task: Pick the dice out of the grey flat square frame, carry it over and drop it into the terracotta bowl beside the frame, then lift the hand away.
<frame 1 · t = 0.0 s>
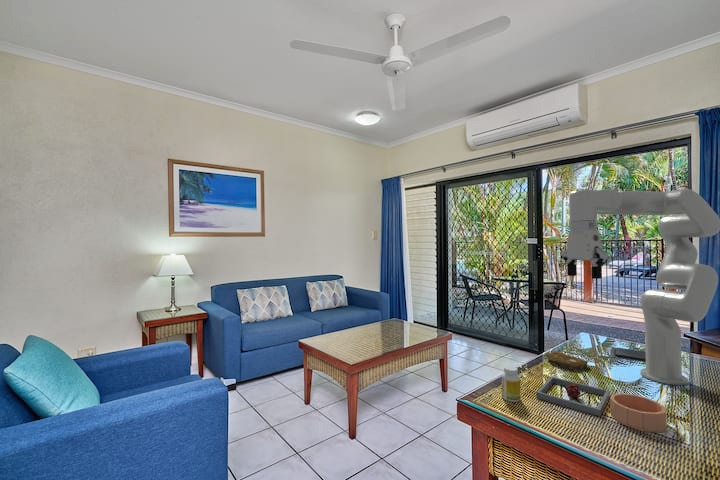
hand: (583, 277, 112), 37 cm above the table, tool pointing down, fingers open, 9 cm apart
dice: (573, 397, 105), resting in grey flat square frame
decorative rock: (564, 365, 132), on the table
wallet: (640, 358, 140), on the table
grey flat square frame: (573, 397, 105), on the table
supplement bottle: (511, 399, 104), on the table
bowl: (637, 420, 91), on the table
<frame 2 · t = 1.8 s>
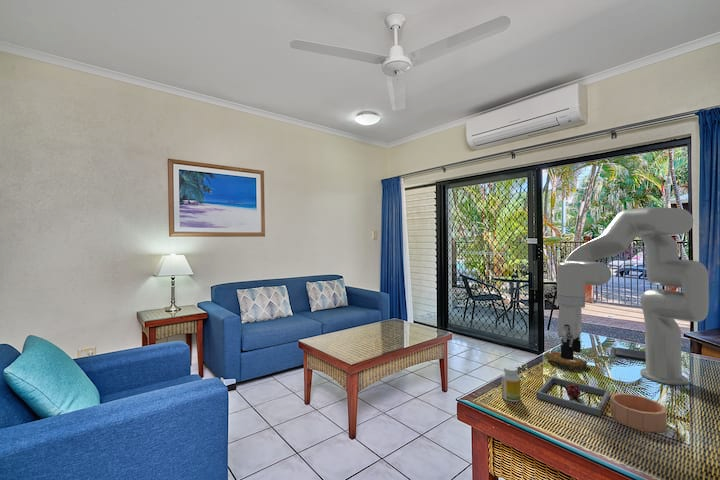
hand: (571, 355, 105), 13 cm above the table, tool pointing down, fingers open, 9 cm apart
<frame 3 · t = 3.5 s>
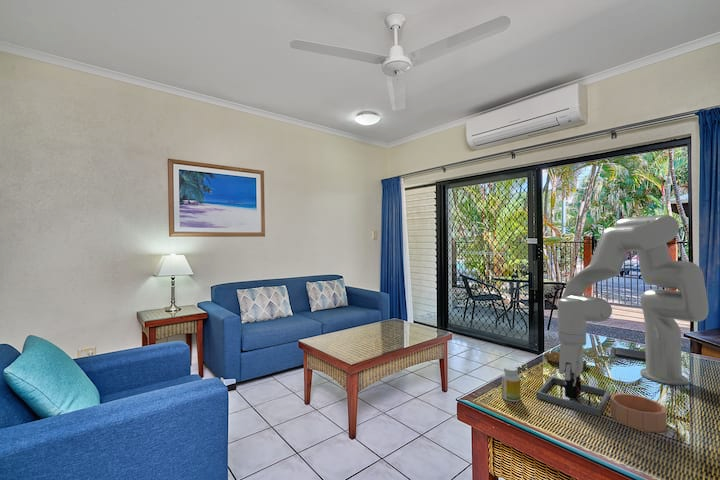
hand: (573, 394, 105), 1 cm above the table, tool pointing down, fingers closed on dice, 4 cm apart
dice: (573, 397, 105), resting in grey flat square frame, touching gripper
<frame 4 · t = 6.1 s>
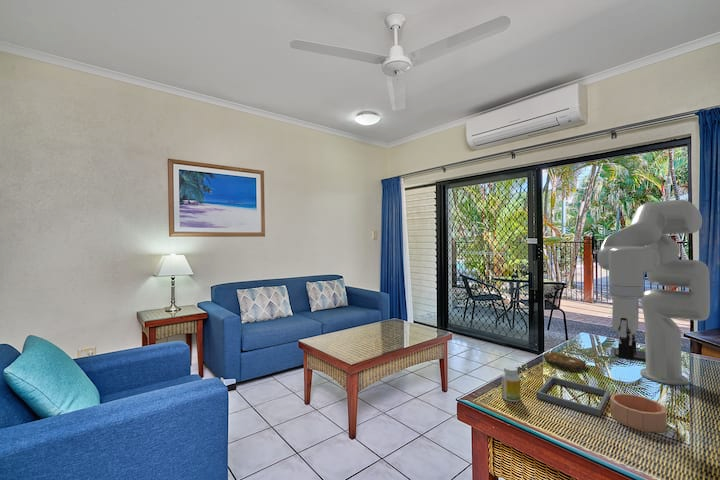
hand: (627, 355, 93), 17 cm above the table, tool pointing down, fingers closed on dice, 4 cm apart
dice: (627, 359, 93), point 16 cm above the table, touching gripper
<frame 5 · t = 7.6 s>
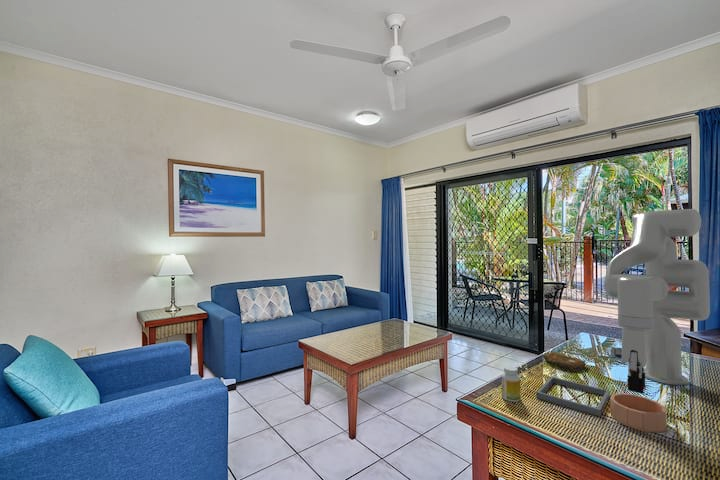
hand: (636, 387, 91), 9 cm above the table, tool pointing down, fingers closed on dice, 4 cm apart
dice: (636, 391, 91), point 8 cm above the table, touching gripper
when the fingers open (5 cm above the table, at t = 8.6 s): dice drops 3 cm, resting on bowl.
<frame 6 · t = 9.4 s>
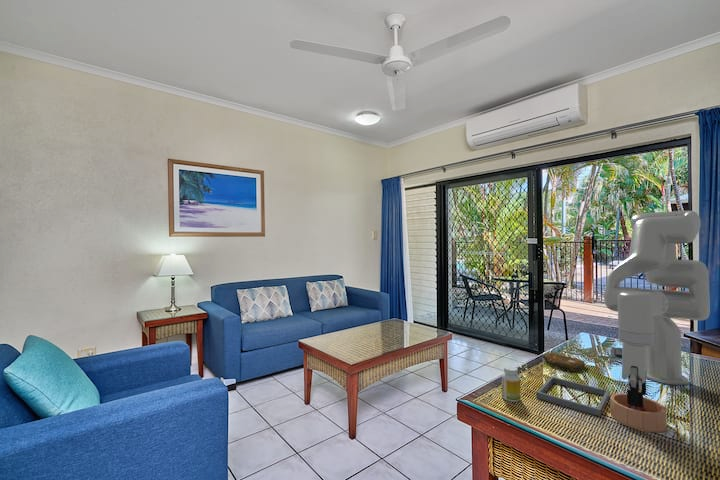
hand: (637, 399, 91), 6 cm above the table, tool pointing down, fingers open, 9 cm apart
dice: (637, 417, 91), point 1 cm above the table, touching bowl
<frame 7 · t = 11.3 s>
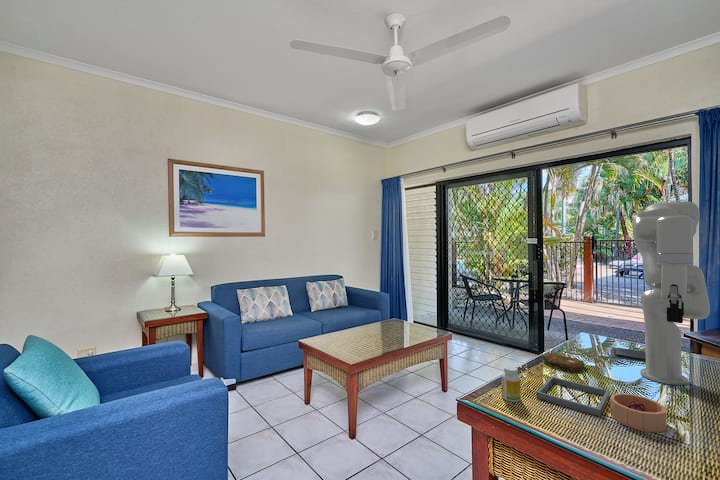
hand: (675, 318, 95), 27 cm above the table, tool pointing down, fingers open, 9 cm apart
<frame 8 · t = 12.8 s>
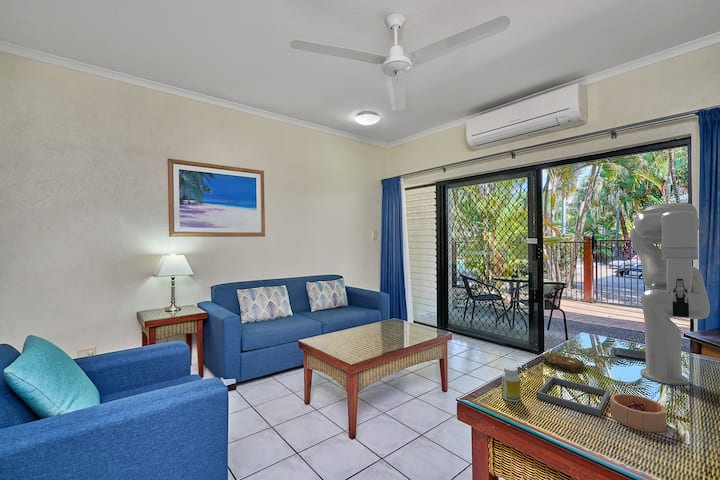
hand: (680, 313, 95), 28 cm above the table, tool pointing down, fingers open, 9 cm apart
at the end: dice inside the target area on the bowl (0.3 cm from its centre), point 0.6 cm above the bowl's base; the gripper is holding nothing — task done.
